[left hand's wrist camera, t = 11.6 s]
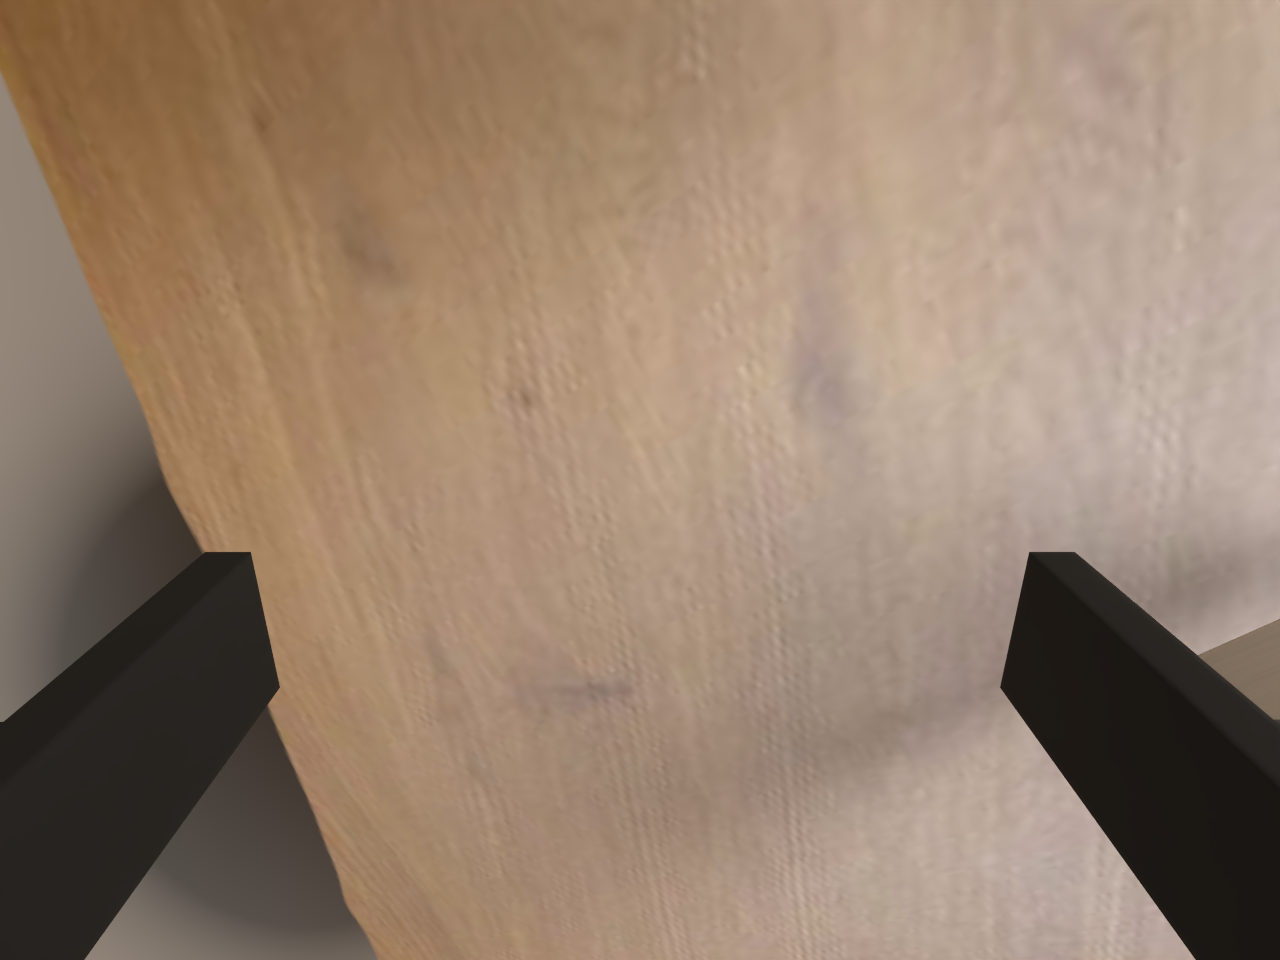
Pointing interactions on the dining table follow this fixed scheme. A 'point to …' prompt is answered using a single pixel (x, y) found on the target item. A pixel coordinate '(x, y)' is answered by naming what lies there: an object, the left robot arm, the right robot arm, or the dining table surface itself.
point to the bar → (1252, 666)
